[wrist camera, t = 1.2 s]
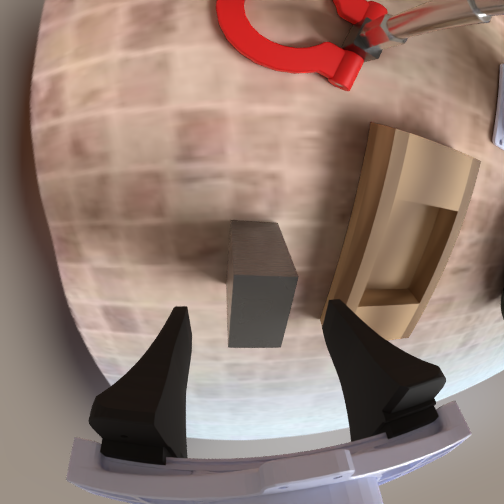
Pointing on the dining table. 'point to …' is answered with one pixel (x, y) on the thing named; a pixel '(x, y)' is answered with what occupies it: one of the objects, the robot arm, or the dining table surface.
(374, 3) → the tow hook
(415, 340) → the dining table surface
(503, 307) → the squash
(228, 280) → the grey rectangular prism
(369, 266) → the open wooden tray
